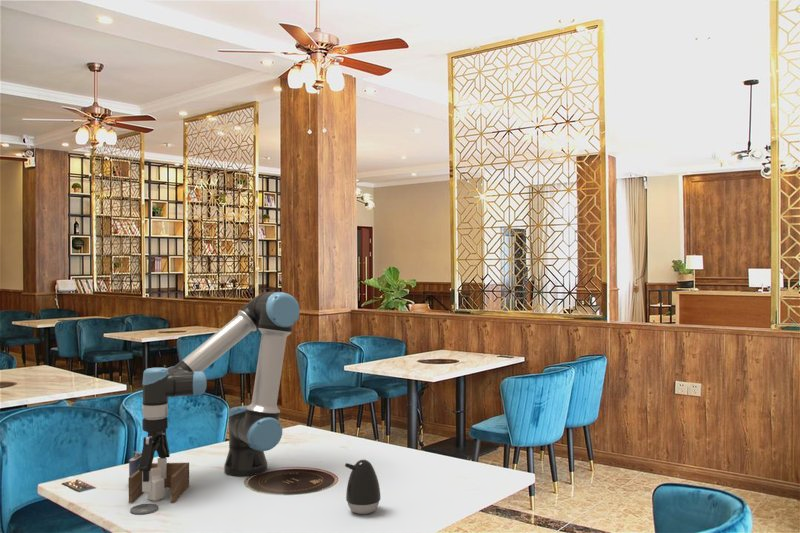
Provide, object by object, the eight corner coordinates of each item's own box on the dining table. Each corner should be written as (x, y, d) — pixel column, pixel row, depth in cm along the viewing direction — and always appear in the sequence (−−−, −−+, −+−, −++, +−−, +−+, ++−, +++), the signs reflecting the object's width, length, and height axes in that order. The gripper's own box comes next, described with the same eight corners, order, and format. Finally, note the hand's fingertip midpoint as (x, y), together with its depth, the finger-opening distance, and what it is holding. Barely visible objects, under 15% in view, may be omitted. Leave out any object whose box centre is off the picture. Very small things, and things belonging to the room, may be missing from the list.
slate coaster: (162, 505, 209) (162, 503, 209) (153, 514, 201) (153, 512, 201) (136, 505, 209) (136, 503, 209) (125, 514, 201) (125, 512, 201)
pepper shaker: (154, 501, 212) (154, 471, 212) (146, 499, 214) (146, 469, 214) (165, 498, 216) (165, 468, 216) (156, 496, 218) (156, 466, 218)
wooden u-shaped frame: (189, 486, 227) (189, 462, 227) (174, 502, 211) (173, 477, 211) (147, 487, 227) (147, 463, 227) (128, 503, 211) (128, 477, 211)
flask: (134, 487, 227) (134, 455, 227) (126, 487, 228) (125, 454, 228) (148, 479, 236) (148, 448, 236) (140, 478, 237) (140, 447, 237)
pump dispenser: (345, 506, 207) (344, 455, 207) (379, 504, 207) (379, 454, 208) (345, 518, 196) (345, 465, 196) (381, 516, 197) (381, 464, 197)
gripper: (156, 409, 228) (156, 473, 227) (127, 425, 203) (127, 497, 202) (179, 409, 228) (178, 473, 227) (153, 425, 203) (152, 497, 202)
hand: (154, 484), depth 215 cm, fingers open, 13 cm apart
